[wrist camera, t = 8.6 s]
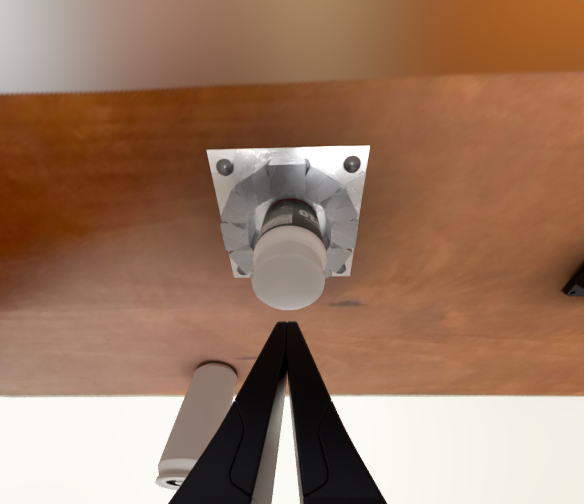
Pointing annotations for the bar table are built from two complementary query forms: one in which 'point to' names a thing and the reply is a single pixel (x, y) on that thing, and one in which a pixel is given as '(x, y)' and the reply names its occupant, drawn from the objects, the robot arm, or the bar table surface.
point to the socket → (289, 196)
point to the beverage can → (196, 422)
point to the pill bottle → (289, 256)
